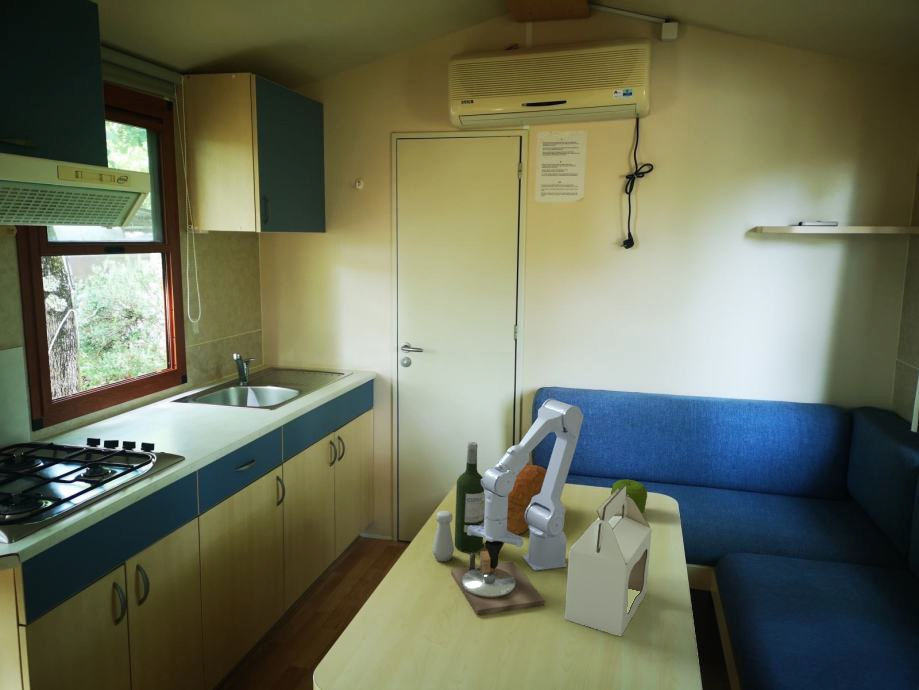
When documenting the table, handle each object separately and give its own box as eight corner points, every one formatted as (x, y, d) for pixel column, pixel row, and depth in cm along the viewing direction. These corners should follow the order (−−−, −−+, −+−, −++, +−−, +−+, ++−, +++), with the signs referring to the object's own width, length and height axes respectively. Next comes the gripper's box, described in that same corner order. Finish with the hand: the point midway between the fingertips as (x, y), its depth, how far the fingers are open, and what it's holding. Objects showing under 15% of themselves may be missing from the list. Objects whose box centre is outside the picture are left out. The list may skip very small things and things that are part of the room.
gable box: (595, 579, 179) (602, 475, 175) (646, 594, 173) (655, 487, 168) (564, 620, 160) (571, 505, 156) (620, 638, 154) (630, 518, 149)
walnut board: (512, 566, 185) (513, 545, 184) (544, 605, 166) (545, 582, 165) (451, 574, 179) (451, 552, 178) (477, 616, 161) (478, 591, 160)
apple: (608, 516, 219) (610, 483, 217) (611, 504, 229) (613, 472, 227) (644, 522, 216) (647, 488, 214) (646, 509, 226) (648, 477, 224)
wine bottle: (471, 555, 190) (475, 449, 185) (448, 546, 195) (452, 443, 190) (488, 545, 196) (492, 443, 191) (465, 537, 201) (469, 437, 196)
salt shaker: (450, 564, 185) (452, 518, 182) (429, 561, 186) (431, 515, 183) (455, 554, 190) (457, 509, 188) (435, 551, 191) (436, 507, 189)
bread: (474, 526, 209) (476, 475, 206) (510, 497, 232) (512, 451, 230) (523, 539, 201) (526, 486, 199) (556, 507, 225) (559, 460, 222)
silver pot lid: (520, 597, 166) (521, 579, 165) (466, 599, 164) (466, 581, 164) (507, 567, 181) (508, 550, 180) (458, 568, 179) (458, 551, 178)
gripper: (462, 515, 174) (461, 566, 176) (517, 528, 168) (514, 580, 170) (474, 506, 180) (472, 555, 183) (527, 517, 174) (524, 568, 176)
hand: (493, 566), depth 177 cm, fingers closed, pressing on silver pot lid
